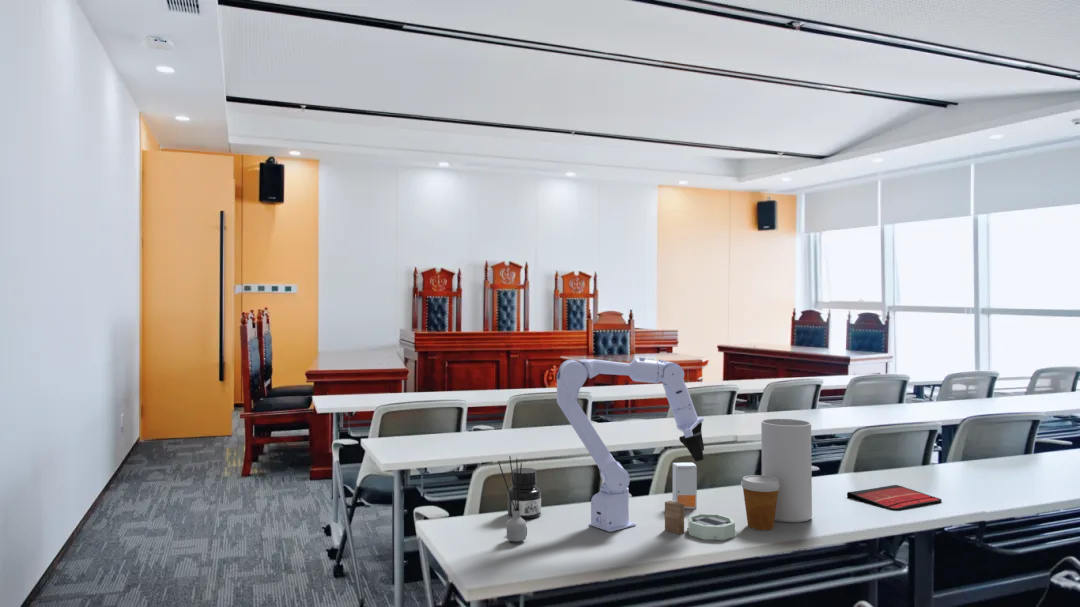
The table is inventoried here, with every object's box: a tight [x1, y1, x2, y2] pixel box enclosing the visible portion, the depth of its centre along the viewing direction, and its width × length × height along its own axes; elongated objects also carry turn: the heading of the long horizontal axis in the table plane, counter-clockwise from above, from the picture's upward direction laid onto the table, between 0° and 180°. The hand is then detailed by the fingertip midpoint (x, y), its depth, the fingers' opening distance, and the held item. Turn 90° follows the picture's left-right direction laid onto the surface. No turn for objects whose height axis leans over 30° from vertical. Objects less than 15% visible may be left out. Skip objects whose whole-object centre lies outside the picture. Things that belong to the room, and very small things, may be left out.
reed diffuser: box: [497, 455, 528, 542], centre depth 168 cm, size 10×7×20 cm
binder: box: [846, 484, 943, 512], centre depth 204 cm, size 16×2×21 cm
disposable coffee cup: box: [740, 474, 780, 531], centre depth 179 cm, size 10×10×12 cm
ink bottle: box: [507, 467, 542, 520], centre depth 190 cm, size 10×9×12 cm
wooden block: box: [664, 500, 685, 535], centre depth 175 cm, size 2×4×7 cm, turn 38°
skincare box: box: [671, 462, 698, 510], centre depth 197 cm, size 6×4×12 cm
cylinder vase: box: [761, 418, 813, 523], centre depth 188 cm, size 12×12×25 cm
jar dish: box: [686, 512, 736, 541], centre depth 174 cm, size 11×11×3 cm
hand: (700, 455), depth 182 cm, fingers open, 7 cm apart
